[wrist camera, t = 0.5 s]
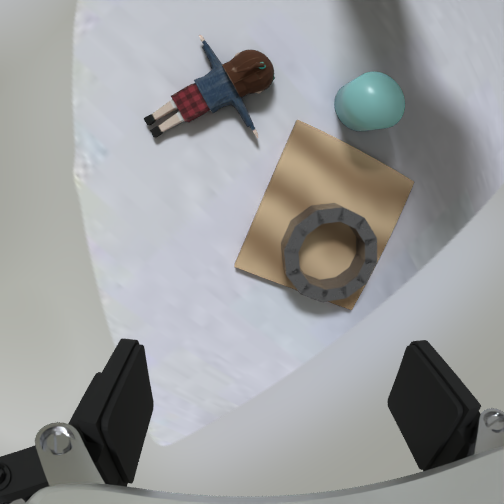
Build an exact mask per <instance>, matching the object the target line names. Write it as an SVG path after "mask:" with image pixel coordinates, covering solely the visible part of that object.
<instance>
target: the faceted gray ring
mask: <svg viewBox="0 0 504 504" xmlns="http://www.w3.org/2000/svg"><path fill="white" fill-rule="evenodd" d="M333 222H342V223H344V224H346V225H348V226H350V228H351V230H352V231H353V233H354V234H355V236H356V254H355V256H354V258H353V260H352V262H351V264H350V266H349V268H347V269H346V270H345V271H343V272H342V273H341V274H339V275H338V276H337V277H333V278H327V279H320V280H319V279H317V278H314V277H312V276H309V275H307V274H305V273H304V272H303V271H302V269H301V268H300V265H299V253H298V252H299V250H300V248H301V246H302V244H303V242H304V240H305V237H306V235H308V234H309V233H310V232H312V231H313V230H314V229H316V228H317V227H318V226H320V225H321V224H325V223H333ZM281 252H282V261H283V268H284V270H285V273H286V276H287V277H288V278H289V280H290V281H291V282H292V283H293V285H294V286H295V287H296V288H297V290H298V291H299V292H300V294H302V295H304V296H307V297H310V298H313V299H315V300H318V301H321V302H327V301H333V300H339V299H345V298H347V297H349V296H350V295H352V294H353V293H354V292H356V291H357V290H358V289H360V288H361V287H362V286H364V285H365V284H366V283H367V281H368V279H369V277H370V275H371V273H372V271H373V269H374V268H375V266H376V264H377V237H376V235H375V234H374V232H373V230H372V229H371V227H370V225H369V224H368V222H367V221H366V219H365V218H364V217H362V216H361V215H359V214H357V213H355V212H353V211H351V210H349V209H347V208H345V207H343V206H341V205H338V204H336V203H329V204H320V205H311V206H310V207H308V208H307V209H305V210H304V211H303V212H301V213H300V214H299V215H297V216H296V217H295V218H293V219H292V220H291V221H290V223H289V225H288V228H287V230H286V232H285V234H284V236H283V239H282V241H281Z"/></svg>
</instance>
